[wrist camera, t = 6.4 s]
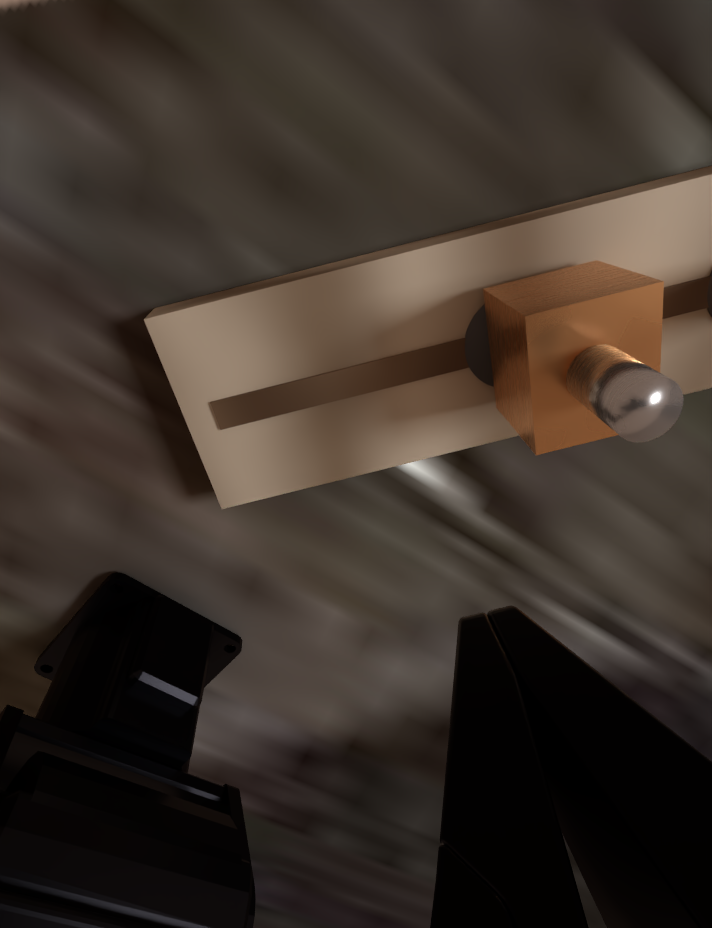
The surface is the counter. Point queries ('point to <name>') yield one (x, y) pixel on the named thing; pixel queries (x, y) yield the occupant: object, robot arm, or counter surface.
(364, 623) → the counter surface
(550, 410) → the orange slider block
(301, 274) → the bolt plate
